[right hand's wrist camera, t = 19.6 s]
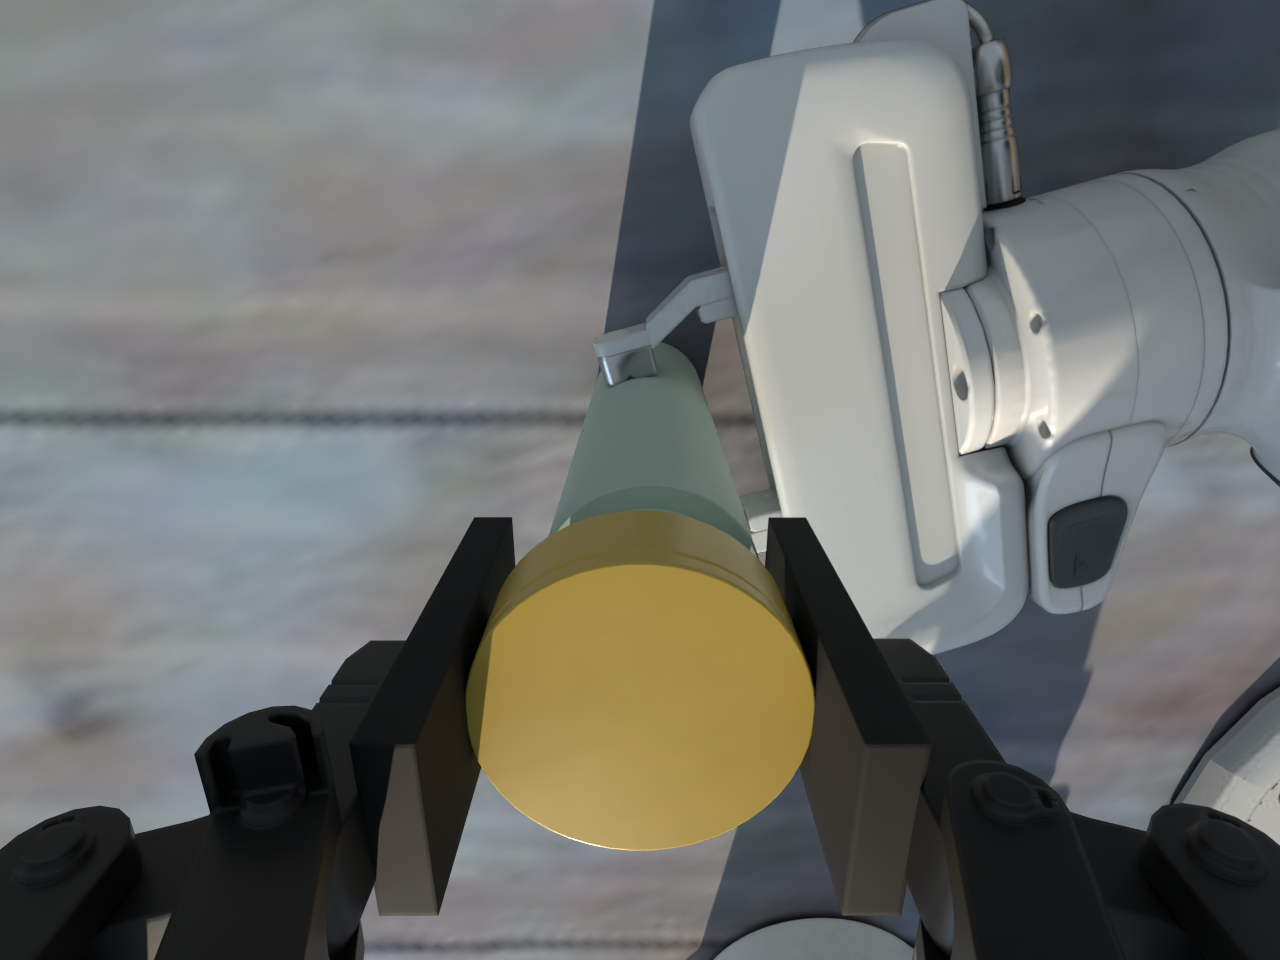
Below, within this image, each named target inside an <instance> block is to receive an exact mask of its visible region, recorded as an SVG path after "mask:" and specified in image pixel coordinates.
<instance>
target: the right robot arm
mask: <svg viewBox="0 0 1280 960" xmlns="http://www.w3.org/2000/svg"><path fill="white" fill-rule="evenodd" d="M514 568H515V555H514V540H513V526H512V517H474V519H473V521H472V523H471V525H470V526H469V528H468V530H467V532H466V534H465V535H464V537H463V539H462V541H461V543H460V545H459V546H458V548H457V550H456V552H455V554H454V555H453V557H452V559H451V561H450V563H449V564H448V566H447V568H446V570H445V572H444V573H443V575H442V577H441V579H440V581H439V582H438V584H437V586H436V588H435V590H434V591H433V593H432V595H431V597H430V599H429V600H428V602H427V604H426V606H425V608H424V609H423V611H422V613H421V615H420V617H419V619H418V620H417V622H416V624H415V626H414V628H413V629H412V631H411V633H410V635H409V637H408V638H407V640H406V641H370V642H368V643H367V644H366V645H364V646H363V647H362V648H360V649H359V650H358V651H356V652H355V653H354V654H352V655H351V656H350V657H348V658H347V659H346V660H345V661H344V663H343V664H342V666H341V667H340V669H339V670H338V672H337V673H336V675H335V676H334V678H333V679H332V684H331V685H328V687H327V688H326V690H325V691H324V693H323V694H322V696H321V697H320V702H319V703H316V705H315V706H314V708H313V709H312V710H309V709H306V708H302V707H298V706H275V707H269V708H265V709H261V710H258V711H254V712H250V713H247V714H245V715H243V716H241V717H239V718H237V719H234V720H232V721H230V722H228V723H226V724H224V725H223V726H222V727H220V728H219V729H218V730H216V731H215V732H214V733H212V734H211V735H210V736H209V737H207V738H206V739H205V741H204V742H203V743H202V745H201V746H200V747H199V749H198V750H197V751H196V753H195V754H194V755H195V759H196V762H197V766H198V770H199V773H200V777H201V781H202V784H203V788H204V792H205V795H206V799H207V803H208V806H209V810H210V814H209V815H208V816H205V817H202V818H198V819H195V820H192V821H188V822H184V823H180V824H176V825H172V826H167V827H163V828H159V829H155V830H151V831H147V832H142V833H138V834H135V833H134V830H133V827H132V824H131V821H130V818H129V817H128V816H127V815H125V814H124V813H123V812H122V811H121V810H120V809H117V808H111V807H105V806H94V807H88V808H81V809H74V810H72V811H69V812H66V813H63V814H60V815H58V816H55V817H52V818H49V819H47V820H45V821H43V822H41V823H39V824H37V825H36V826H34V827H32V828H30V829H28V830H27V831H25V832H23V833H21V834H20V835H18V836H16V837H15V838H14V839H13V840H12V841H10V842H9V843H8V844H7V845H5V846H4V847H3V848H2V849H1V850H0V960H363V958H364V948H365V946H364V939H363V931H362V926H361V920H360V918H361V916H362V913H363V911H364V908H365V906H366V903H367V901H368V898H369V896H370V893H371V891H372V888H373V886H374V888H375V894H376V900H377V905H378V911H379V916H438V915H439V911H440V908H441V905H442V901H443V898H444V894H445V891H446V887H447V884H448V880H449V877H450V873H451V870H452V866H453V863H454V860H455V856H456V853H457V849H458V846H459V842H460V839H461V835H462V832H463V828H464V825H465V822H466V818H467V815H468V811H469V808H470V804H471V801H472V797H473V794H474V790H475V787H476V784H477V780H478V777H479V773H480V770H481V766H480V764H479V762H478V760H477V757H476V755H475V753H474V751H473V748H472V746H471V742H470V738H469V731H468V722H467V712H466V701H465V690H466V685H467V680H468V675H469V671H470V668H471V665H472V663H473V660H474V657H475V655H476V652H477V649H478V647H479V644H480V641H481V639H482V636H483V634H484V631H485V628H486V626H487V623H488V620H489V618H490V615H491V612H492V610H493V607H494V605H495V602H496V599H497V597H498V594H499V592H500V590H501V588H502V586H503V584H504V583H505V581H506V579H507V577H508V576H509V574H510V573H511V572H512V570H513V569H514ZM765 568H766V569H767V570H768V571H769V573H770V574H771V575H772V577H773V579H774V581H775V582H776V584H777V586H778V587H779V589H780V591H781V594H782V596H783V599H784V601H785V604H786V606H787V609H788V612H789V614H790V617H791V620H792V622H793V625H794V628H795V630H796V633H797V636H798V638H799V641H800V644H801V646H802V649H803V651H804V654H805V657H806V659H807V662H808V665H809V667H810V670H811V675H812V679H813V684H814V688H815V707H814V717H813V727H812V735H811V739H810V743H809V746H808V749H807V751H806V753H805V756H804V758H803V760H802V763H801V765H800V766H799V768H800V772H801V775H802V779H803V782H804V786H805V789H806V792H807V796H808V799H809V803H810V806H811V810H812V813H813V817H814V820H815V824H816V827H817V830H818V834H819V837H820V841H821V844H822V848H823V851H824V855H825V858H826V862H827V865H828V868H829V872H830V875H831V879H832V882H833V886H834V889H835V893H836V896H837V900H838V903H839V906H840V910H841V913H842V916H901V913H902V908H903V902H904V897H905V891H906V885H907V884H908V886H909V889H910V891H911V894H912V896H913V899H914V901H915V904H916V906H917V909H918V911H919V914H920V920H919V926H918V931H917V936H916V941H915V946H914V952H913V957H912V960H1280V845H1279V844H1278V843H1276V842H1275V841H1274V840H1273V839H1271V838H1270V837H1269V836H1268V835H1267V834H1265V833H1264V832H1262V831H1260V830H1259V829H1257V828H1255V827H1253V826H1251V825H1250V824H1248V823H1246V822H1244V821H1242V820H1241V819H1239V818H1237V817H1235V816H1232V815H1229V814H1226V813H1224V812H1221V811H1218V810H1215V809H1213V808H1210V807H1206V806H1200V805H1193V804H1186V803H1178V804H1171V805H1165V806H1162V807H1161V808H1160V809H1159V810H1157V811H1156V812H1155V813H1154V814H1153V815H1152V817H1151V820H1150V823H1149V826H1148V829H1147V832H1146V831H1142V830H1138V829H1134V828H1129V827H1125V826H1121V825H1117V824H1113V823H1109V822H1104V821H1100V820H1096V819H1092V818H1088V817H1085V816H1082V815H1079V814H1075V813H1072V812H1070V811H1069V809H1068V808H1067V806H1066V805H1065V803H1064V802H1063V800H1062V798H1061V797H1060V795H1059V794H1058V793H1057V792H1055V791H1054V790H1053V789H1052V788H1051V787H1050V786H1048V785H1047V784H1046V783H1045V782H1044V781H1043V780H1041V779H1040V778H1038V777H1036V776H1034V775H1032V774H1031V773H1029V772H1027V771H1025V770H1023V769H1021V768H1019V767H1016V766H1013V765H1009V764H1006V762H1005V761H1004V759H1003V758H1002V756H1001V755H1000V753H999V752H998V750H997V749H996V747H995V746H994V744H993V743H992V741H991V740H990V738H989V737H988V735H987V734H986V732H985V731H984V729H983V728H982V726H981V725H980V723H979V722H978V720H977V719H976V717H975V716H974V714H973V713H972V711H971V710H970V708H969V707H968V705H967V704H966V703H965V701H962V700H961V695H960V694H959V692H958V691H957V689H956V688H955V686H954V685H953V683H950V682H949V677H948V676H947V674H946V673H945V671H944V670H943V668H942V667H941V665H940V664H939V662H938V661H937V659H936V658H935V657H934V656H933V655H932V654H930V653H929V652H928V651H926V650H925V649H923V648H922V647H921V646H919V645H918V644H917V643H915V642H914V641H913V640H911V639H897V638H872V636H871V634H870V632H869V630H868V629H867V627H866V625H865V623H864V621H863V619H862V618H861V616H860V614H859V612H858V610H857V609H856V607H855V605H854V603H853V601H852V600H851V598H850V596H849V594H848V592H847V591H846V589H845V587H844V585H843V583H842V582H841V580H840V578H839V576H838V574H837V573H836V571H835V569H834V567H833V565H832V564H831V562H830V560H829V558H828V556H827V555H826V553H825V551H824V549H823V547H822V546H821V544H820V542H819V540H818V538H817V536H816V535H815V533H814V531H813V529H812V527H811V526H810V524H809V522H808V520H807V518H806V517H769V518H768V532H767V547H766V561H765Z"/></svg>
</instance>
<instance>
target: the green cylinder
mask: <svg viewBox="0 0 1280 960" xmlns="http://www.w3.org/2000/svg"><path fill="white" fill-rule="evenodd" d="M653 351H654V355H655V359H656V363H657V374H655V375H651V376H647V377H643V378H637V379H636V378H634V377H631V376H629V378H628V379H627V380H626V381H625V382H622V383H620V384H617V385H611V386H607V385H606V384H605V381H604V378H603V374H602V371H600V373H599V376H598V379H597V382H596V385H595V388H594V392H593V395H592V398H591V401H590V405H589V408H588V411H587V414H586V417H585V421H584V424H583V427H582V430H581V434H580V437H579V440H578V443H577V446H576V450H575V453H574V456H573V459H572V462H571V466H570V469H569V472H568V475H567V479H566V482H565V485H564V488H563V491H562V495H561V498H560V501H559V504H558V508H557V511H556V514H555V517H554V520H553V524H552V527H551V530H550V533H549V536H550V535H552V534H554V533H556V532H558V531H559V530H561V529H563V528H565V527H567V526H569V525H571V524H574V523H577V522H579V521H582V520H584V519H587V518H591V517H595V516H599V515H603V514H607V513H613V512H621V511H638V510H651V511H659V512H667V513H674V514H678V515H682V516H686V517H690V518H693V519H696V520H698V521H701V522H704V523H706V524H709V525H711V526H713V527H715V528H717V529H719V530H721V531H723V532H725V533H726V534H728V535H730V536H731V537H733V538H734V539H736V540H737V541H738V542H740V543H741V544H742V545H744V546H745V547H746V548H747V549H748V550H750V551H751V552H752V553H753V554H754V555H755V556H756V557H757V558H758V554H757V551H756V548H755V545H754V542H753V539H752V536H751V533H750V530H749V527H748V524H747V521H746V518H745V515H744V512H743V509H742V506H741V503H740V500H739V497H738V494H737V491H736V488H735V485H734V482H733V479H732V476H731V473H730V470H729V467H728V464H727V461H726V458H725V455H724V452H723V449H722V446H721V443H720V440H719V437H718V434H717V431H716V428H715V425H714V422H713V419H712V416H711V413H710V410H709V407H708V404H707V401H706V398H705V395H704V392H703V389H702V386H701V383H700V380H699V377H698V374H697V372H696V370H695V368H694V366H693V364H692V363H691V362H690V360H689V359H688V358H687V357H686V356H685V355H684V354H683V353H682V352H681V351H679V350H678V349H676V348H674V347H673V346H671V345H668V344H666V343H662V342H660V343H659V344H658V345H657V346H656V347H655V348H654V349H653ZM549 536H548V537H549ZM758 559H759V558H758Z"/></svg>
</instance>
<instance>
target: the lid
mask: <svg viewBox="0 0 1280 960" xmlns="http://www.w3.org/2000/svg"><path fill="white" fill-rule="evenodd" d="M465 701H466V712H467V722H468V731H469V738H470V742H471V746H472V748H473V751H474V753H475V755H476V757H477V760H478V762H479V764H480V766H481V767H482V769H483V771H484V772H485V774H486V775H487V777H488V779H489V780H490V781H491V783H492V784H493V785H494V786H495V787H496V789H497V790H498V791H499V792H500V793H501V795H502V796H503V797H504V798H506V799H507V800H508V801H509V802H510V803H511V804H512V805H513V806H514V807H515V808H516V809H518V810H519V811H520V812H522V813H523V814H525V815H526V816H527V817H529V818H530V819H531V820H533V821H535V822H536V823H538V824H540V825H542V826H544V827H545V828H547V829H549V830H551V831H553V832H556V833H558V834H560V835H562V836H565V837H567V838H570V839H573V840H576V841H580V842H583V843H586V844H590V845H595V846H600V847H605V848H610V849H620V850H660V849H670V848H676V847H681V846H686V845H691V844H694V843H698V842H701V841H704V840H707V839H710V838H713V837H716V836H718V835H720V834H722V833H725V832H727V831H729V830H732V829H733V828H735V827H737V826H739V825H740V824H742V823H744V822H746V821H747V820H749V819H750V818H752V817H753V816H754V815H756V814H757V813H759V812H760V811H761V810H763V809H764V808H765V807H766V806H767V805H768V804H769V803H770V802H772V801H773V800H774V799H775V798H776V797H777V796H778V795H779V794H780V793H781V791H782V790H783V789H784V788H785V787H786V785H787V784H788V783H789V782H790V780H791V779H792V777H793V776H794V774H795V773H796V771H797V769H798V768H799V766H800V765H801V763H802V760H803V758H804V756H805V753H806V751H807V749H808V746H809V743H810V739H811V735H812V727H813V717H814V707H815V688H814V684H813V679H812V675H811V670H810V667H809V665H808V662H807V659H806V657H805V654H804V651H803V649H802V646H801V644H800V641H799V638H798V636H797V633H796V630H795V628H794V625H793V622H792V620H791V617H790V614H789V612H788V609H787V606H786V604H785V601H784V599H783V596H782V594H781V591H780V589H779V587H778V586H777V584H776V582H775V581H774V579H773V577H772V575H771V574H770V573H769V571H768V570H767V569H766V568H765V566H764V565H763V564H762V563H761V561H760V560H759V559H758V558H757V557H756V556H755V555H754V554H753V553H752V552H751V551H750V550H748V549H747V548H746V547H745V546H744V545H742V544H741V543H740V542H738V541H737V540H736V539H734V538H733V537H731V536H730V535H728V534H726V533H725V532H723V531H721V530H719V529H717V528H715V527H713V526H711V525H709V524H706V523H704V522H701V521H698V520H696V519H693V518H690V517H686V516H682V515H678V514H674V513H667V512H659V511H651V510H638V511H621V512H613V513H607V514H603V515H599V516H595V517H591V518H587V519H584V520H582V521H579V522H577V523H574V524H571V525H569V526H567V527H565V528H563V529H561V530H559V531H558V532H556V533H554V534H552V535H550V536H549V537H547V538H546V539H545V540H543V541H542V542H541V543H539V544H538V545H536V546H535V547H534V548H533V549H532V550H531V551H530V552H529V553H528V554H527V555H525V556H524V557H523V558H522V559H521V560H520V562H519V563H518V564H517V565H516V567H515V568H514V569H513V570H512V572H511V573H510V574H509V576H508V577H507V579H506V581H505V583H504V584H503V586H502V588H501V590H500V592H499V594H498V597H497V599H496V602H495V605H494V607H493V610H492V612H491V615H490V618H489V620H488V623H487V626H486V628H485V631H484V634H483V636H482V639H481V641H480V644H479V647H478V649H477V652H476V655H475V657H474V660H473V663H472V665H471V668H470V671H469V675H468V680H467V685H466V690H465Z"/></svg>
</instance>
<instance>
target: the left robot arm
mask: <svg viewBox="0 0 1280 960" xmlns="http://www.w3.org/2000/svg"><path fill="white" fill-rule="evenodd" d="M970 29H971V30H972V32H973V34H974V35H975V38H976V40H977V43H978V46H976V47H974V48H972V47H971V36H970ZM1010 87H1012V65H1011V59H1010V53H1009V49H1008V46H1007V44H1006V41H1005V39H1002V38H1001V39H997V40H994V38H993V34H992V31H991V29H990V27H989V25H988V23H987V21H986V19H985V18H984V16H983V15H982V14H981V13H980V12H979V11H978V10H977V9H976V8H974V7H973V6H972V5H970V4H969V3H967V2H965V1H963V0H925V1H922V2H919V3H915V4H912V5H909V6H906V7H902V8H899V9H896V10H892V11H889V12H886V13H884V14H882V15H880V16H878V17H877V18H875V19H874V20H873V21H871V22H870V23H869V24H868V25H867V26H866V27H865V28H864V29H862V30H861V31H860V33H859V34H858V35H857V37H856V38H855V40H854V41H853V43H847V44H840V45H832V46H825V47H819V48H813V49H807V50H800V51H795V52H790V53H785V54H780V55H775V56H771V57H767V58H762V59H758V60H754V61H750V62H746V63H742V64H739V65H735V66H732V67H729V68H726V69H724V70H722V71H721V72H719V73H717V74H716V75H715V76H714V77H713V78H712V79H711V80H710V81H709V82H708V84H707V85H706V87H705V88H704V89H703V91H702V93H701V94H700V96H699V98H698V100H697V102H696V104H695V106H694V108H693V111H692V113H691V118H690V129H691V134H692V139H693V144H694V148H695V153H696V157H697V162H698V166H699V171H700V175H701V180H702V184H703V189H704V193H705V198H706V202H707V207H708V211H709V216H710V221H711V225H712V230H713V234H714V239H715V243H716V248H717V252H718V257H719V261H720V266H721V267H718V268H715V269H711V270H708V271H704V272H701V273H697V274H694V275H690V276H687V277H686V278H685V279H684V280H683V281H682V282H681V283H680V284H679V285H678V286H677V287H676V288H675V289H674V290H673V291H672V292H671V293H670V294H669V295H668V296H667V297H666V298H665V299H664V300H663V301H662V302H661V303H660V304H659V305H658V307H657V308H656V309H655V310H654V311H653V312H652V313H651V314H650V315H649V316H648V317H647V318H646V323H642V324H638V325H635V326H631V327H627V328H624V329H620V330H616V331H613V332H609V333H606V334H603V335H601V336H599V337H596V338H595V340H594V342H593V344H594V348H595V352H596V355H597V358H598V362H599V365H600V368H601V371H602V374H603V378H604V381H605V384H606V385H607V386H611V385H617V384H620V383H622V382H625V381H626V380H627V379H628V378H629V376H631V377H634V378H636V379H637V378H643V377H647V376H651V375H655V374H657V363H656V359H655V355H654V351H653V349H654V348H655V347H656V346H657V345H658V344H659V343H660V342H661V341H662V340H663V339H664V338H665V337H666V336H667V335H668V334H669V333H670V332H671V331H672V330H673V329H674V328H675V327H676V326H677V325H678V324H679V323H680V322H681V321H682V320H683V319H684V318H685V317H686V316H687V315H688V314H689V313H690V312H692V311H693V310H694V309H695V308H696V312H697V314H698V316H699V318H700V320H701V322H703V323H705V324H707V323H711V322H715V321H719V320H723V319H727V318H731V317H732V320H733V324H734V329H735V333H736V338H737V342H738V347H739V352H740V356H741V361H742V365H743V370H744V374H745V379H746V383H747V388H748V392H749V397H750V401H751V406H752V410H753V415H754V419H755V424H756V428H757V433H758V437H759V442H760V446H761V451H762V455H763V460H764V464H765V469H766V473H767V478H768V482H769V487H770V489H767V490H763V491H759V492H756V493H752V494H748V495H744V496H743V497H742V498H741V501H742V506H743V509H744V511H743V512H744V515H745V518H746V521H747V524H748V527H749V530H750V533H751V536H752V539H753V542H754V545H755V548H756V551H757V553H759V552H764V551H766V547H767V532H768V518H769V517H806V518H807V520H808V522H809V524H810V526H811V527H812V529H813V531H814V533H815V535H816V536H817V538H818V540H819V542H820V544H821V546H822V547H823V549H824V551H825V553H826V555H827V556H828V558H829V560H830V562H831V564H832V565H833V567H834V569H835V571H836V573H837V574H838V576H839V578H840V580H841V582H842V583H843V585H844V587H845V589H846V591H847V592H848V594H849V596H850V598H851V600H852V601H853V603H854V605H855V607H856V609H857V610H858V612H859V614H860V616H861V618H862V619H863V621H864V623H865V625H866V627H867V629H868V630H869V632H870V634H871V636H872V638H897V639H911V640H913V641H914V642H915V643H917V644H918V645H919V646H921V647H922V648H923V649H925V650H926V651H928V652H929V653H930V654H932V655H935V654H938V653H942V652H945V651H949V650H952V649H955V648H958V647H962V646H965V645H968V644H971V643H974V642H977V641H979V640H982V639H984V638H986V637H988V636H991V635H993V634H994V633H996V632H998V631H999V630H1001V629H1003V628H1004V627H1005V626H1006V625H1008V624H1009V623H1010V622H1011V621H1012V620H1013V619H1014V618H1015V617H1016V616H1017V615H1018V613H1019V612H1020V610H1021V609H1022V607H1023V605H1024V603H1025V601H1026V597H1027V596H1028V597H1029V598H1030V599H1032V600H1033V601H1034V602H1035V603H1037V604H1038V605H1039V606H1041V607H1042V608H1043V609H1045V610H1046V611H1047V612H1049V613H1052V614H1069V613H1074V612H1079V611H1083V610H1087V609H1090V608H1092V607H1094V606H1096V605H1098V604H1099V603H1100V602H1101V601H1102V600H1103V599H1104V598H1105V597H1106V595H1107V593H1108V591H1109V589H1110V587H1111V584H1112V581H1113V578H1114V575H1115V572H1116V569H1117V566H1118V562H1119V559H1120V556H1121V553H1122V550H1123V547H1124V544H1125V541H1126V538H1127V535H1128V532H1129V529H1130V526H1131V524H1132V521H1133V518H1134V516H1135V513H1136V510H1137V508H1138V505H1139V503H1140V500H1141V498H1142V496H1143V493H1144V491H1145V489H1146V487H1147V484H1148V482H1149V480H1150V478H1151V476H1152V474H1153V472H1154V470H1155V468H1156V466H1157V464H1158V462H1159V460H1160V458H1161V456H1162V453H1163V450H1164V447H1169V446H1173V445H1176V444H1179V443H1181V442H1183V441H1186V440H1188V439H1191V438H1194V437H1196V436H1199V435H1203V434H1207V433H1225V434H1229V435H1233V436H1236V437H1239V438H1242V439H1244V440H1245V441H1247V442H1248V443H1249V444H1250V445H1251V446H1252V447H1251V449H1250V453H1251V457H1252V458H1253V460H1254V462H1255V463H1256V464H1257V465H1258V467H1259V468H1260V469H1261V470H1262V471H1263V472H1264V473H1265V474H1266V475H1267V476H1269V477H1270V478H1271V479H1272V480H1273V481H1274V482H1275V483H1276V484H1277V485H1278V486H1279V487H1280V128H1278V129H1275V130H1271V131H1267V132H1264V133H1261V134H1258V135H1255V136H1252V137H1249V138H1247V139H1244V140H1242V141H1240V142H1238V143H1235V144H1233V145H1231V146H1229V147H1227V148H1225V149H1224V150H1222V151H1220V152H1219V153H1217V154H1215V155H1213V156H1212V157H1210V158H1208V159H1207V160H1205V161H1203V162H1201V163H1199V164H1196V165H1194V166H1190V167H1187V168H1181V169H1175V170H1166V169H1141V170H1131V171H1125V172H1120V173H1116V174H1113V175H1109V176H1105V177H1101V178H1097V179H1094V180H1090V181H1087V182H1083V183H1079V184H1076V185H1072V186H1069V187H1065V188H1061V189H1058V190H1054V191H1050V192H1047V193H1043V194H1040V195H1036V196H1032V197H1029V198H1022V190H1021V177H1020V166H1019V154H1018V145H1017V138H1016V136H1015V135H1014V134H1015V128H1014V126H1012V124H1013V119H1012V117H1011V116H1010V115H1011V114H1012V112H1011V107H1010V106H1009V105H1010V104H1011V102H1010ZM983 208H984V211H982V209H983ZM913 952H914V949H913V948H912V947H911V946H909V945H908V944H906V943H905V942H904V941H902V940H901V939H899V938H898V937H896V936H894V935H893V934H891V933H889V932H887V931H885V930H882V929H880V928H877V927H875V926H872V925H869V924H865V923H861V922H857V921H852V920H845V919H836V918H808V919H799V920H792V921H787V922H782V923H778V924H775V925H771V926H768V927H765V928H762V929H760V930H757V931H755V932H752V933H750V934H748V935H746V936H744V937H742V938H740V939H739V940H737V941H736V942H734V943H732V944H731V945H730V946H728V947H727V948H726V949H724V950H723V951H722V952H721V953H720V954H719V955H718V956H716V957H715V958H714V960H912V957H913Z"/></svg>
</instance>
